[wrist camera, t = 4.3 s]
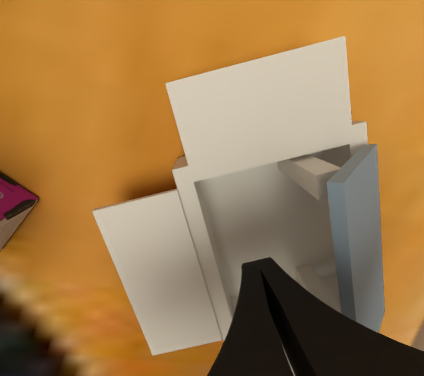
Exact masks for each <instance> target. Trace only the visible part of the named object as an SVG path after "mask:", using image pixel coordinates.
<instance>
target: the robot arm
mask: <svg viewBox="0 0 424 376" xmlns="http://www.w3.org/2000/svg"><path fill="white" fill-rule="evenodd" d="M241 269H242V275H241V285H240V290H239V296H238V301H237V304H236V308H235V312H234V316H233V319H232V322H231V325H230V328H229V330H228V333H227V336H226V338H225V340H224V343H223V345H222V347H221V350H220V352H219V354H218V356H217V358H216V360H215V362H214V364H213V366H212V368H211V369H210V371H209V373H208V375H207V376H294V375H295V376H424V351H421V350H418V349H416V348H413V347H410V346H408V345H405V344H403V343H400V342H398V341H395V340H393V339H391V338H389V337H386V336H384V335H382V334H380V333H377V332H375V331H373V330H371V329H369V328H367V327H365V326H363V325H362V324H360V323H358V322H356V321H354V320H352V319H350V318H348V317H346V316H345V315H343V314H341V313H340V312H338V311H336V310H335V309H333V308H332V307H330V306H328V305H327V304H325V303H324V302H322V301H321V300H320V299H318V298H317V297H315V296H314V295H313V294H311V293H310V292H309V291H307V290H306V289H305V288H304V287H302V286H301V285H300V284H299V283H297V282H296V281H295V280H294V279H293V278H292V277H290V276H289V275H288V274H287V273H286V272H285V271H284V270H283V269H282V268H281V267H280V266H279V265H278V264H277V263H276V262H275V261H274V260H273V259H272V258H271V257H268V258H264V259H259V260H255V261H251V262H246V263H243V264H242V266H241ZM283 348H284V349H283ZM285 353H286V354H285ZM286 355H287V356H286ZM287 358H288V359H287ZM288 360H289V362H288ZM289 363H290V364H289ZM290 365H291V367H292V369H291V367H290ZM292 370H293V372H294V374H293V372H292Z"/></svg>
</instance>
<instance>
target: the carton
mask: <svg viewBox="0 0 424 376" xmlns="http://www.w3.org/2000/svg"><path fill="white" fill-rule="evenodd" d="M165 84H166V88H167V91H168V95H169V99H170V102H171V106H172V109H173V113H174V116H175V120H176V124H177V127H178V131H179V134H180V138H181V142H182V145H183V149H184V152H185V156H182V157H178V159H177V161H176V163H175V165H174V167H173V169H172V172H173V175H174V179H175V182H176V185H177V189H173V190H169V191H165V192H161V193H157V194H153V195H149V196H145V197H141V198H137V199H133V200H128V201H124V202H120V203H116V204H112V205H108V206H104V207H100V208H96V209H94V210H93V211H92V212H93V215H94V217H95V220H96V222H97V224H98V227H99V229H100V231H101V234H102V236H103V239H104V241H105V243H106V246H107V248H108V250H109V253H110V255H111V258H112V260H113V262H114V265H115V267H116V269H117V272H118V274H119V277H120V279H121V281H122V284H123V286H124V288H125V291H126V293H127V296H128V298H129V300H130V303H131V305H132V307H133V310H134V312H135V315H136V317H137V319H138V322H139V324H140V326H141V329H142V331H143V334H144V336H145V338H146V341H147V343H148V345H149V348H150V350H151V353H152V355H157V354H162V353H167V352H171V351H176V350H180V349H185V348H189V347H194V346H198V345H203V344H208V343H212V342H217V341H221V340H222V338H223V341H224V340H225V338H226V336H227V333H228V330H229V328H230V325H231V322H232V319H233V316H234V312H235V308H236V304H237V301H238V296H239V290H240V285H241V275H242V269H241V266H242V264H243V263H246V262H251V261H255V260H259V259H264V258H268V257H271V258H272V259H273V260H274V261H275V262H276V263H277V264H278V265H279V266H280V267H281V268H282V269H283V270H284V271H285V272H286V273H287V274H288V275H289V276H290V277H292V278H293V279H294V280H295V281H296V282H297V283H299V284H300V285H301V286H302V287H304V288H305V289H306V290H307V291H309V292H310V293H311V294H313V295H314V296H315V297H317V298H318V299H320V300H321V301H322V302H324V303H325V304H327V305H328V306H330V307H332V308H333V309H335V310H336V311H338V312H340V313H341V307H340V298H339V289H338V280H337V271H336V263H335V254H334V245H333V236H332V227H331V218H330V209H329V200H328V191H327V183H326V182H327V181H328V180H329V179H330V178H331V177H332V176H333V175H334V174H335V173H336V172H337V171H338V170H339V169H340V168H341V167H342V166H343V165H344V164H345V163H346V162H347V161H348V160H349V159H350V158H351V157H352V156H353V155H354V154H355V153H356V152H357V151H358V150H359V149H360V148H361V147H362V146H363V145H368V142H367V124H366V121H352V120H351V106H350V93H349V80H348V66H347V53H346V40H345V36H343V37H339V38H335V39H331V40H328V41H324V42H320V43H316V44H312V45H309V46H305V47H301V48H297V49H293V50H290V51H286V52H282V53H278V54H274V55H271V56H267V57H263V58H259V59H255V60H252V61H248V62H244V63H240V64H236V65H233V66H229V67H225V68H221V69H218V70H214V71H210V72H206V73H202V74H199V75H195V76H191V77H187V78H183V79H180V80H176V81H172V82H168V83H165ZM283 349H284V348H283ZM285 354H286V353H285ZM286 356H287V355H286ZM287 359H288V358H287ZM288 362H289V360H288ZM289 364H290V363H289ZM290 367H291V365H290ZM291 369H292V367H291ZM292 372H293V370H292ZM293 374H294V372H293ZM294 376H295V375H294Z"/></svg>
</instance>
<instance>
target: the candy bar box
mask: <svg viewBox="0 0 424 376" xmlns="http://www.w3.org/2000/svg"><path fill="white" fill-rule="evenodd" d="M37 201H38V198H37V197H36V196H35V195H34V194H32V193H31V192H29V191H28V190H26V189H25V188H23V187H22V186H20V185H19V184H17V183H16V182H14V181H12V180H11V179H9V178H8V177H6V176H5V175H3V174H2V173H0V251H1V250H2V249H3V247H4V246H5V245H6V243H7V242H8V241H9V240H10V238H11V237H12V235H13V233H14V231H15V230H16V229H17V227H18V226H19V225H20V224H21V222H22V221H23V220H24V218H25V217H26V216H27V214H28V213H29V212H30V210H31V209H32V208H33V207H34V205H35V204H36V203H37Z"/></svg>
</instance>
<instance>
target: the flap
mask: <svg viewBox="0 0 424 376" xmlns="http://www.w3.org/2000/svg"><path fill="white" fill-rule="evenodd" d="M326 183H327V191H328V200H329V209H330V218H331V227H332V236H333V245H334V254H335V263H336V271H337V280H338V289H339V298H340V307H341V314H343V315H345V316H346V317H348V318H350V319H352V320H354V321H356V322H358V323H360V324H362V325H363V326H365V327H367V328H369V329H371V330H373V331H375V332H377V333H379V329H380V326H381V323H382V319H383V316H384V312H385V306H384V285H383V263H382V242H381V221H380V200H379V178H378V157H377V144H369V145H363V146H362V147H361V148H360V149H359V150H358V151H357V152H356V153H355V154H354V155H353V156H352V157H351V158H350V159H349V160H348V161H347V162H346V163H345V164H344V165H343V166H342V167H341V168H340V169H339V170H338V171H337V172H336V173H335V174H334V175H333V176H332V177H331V178H330V179H329V180H328V181H327V182H326Z"/></svg>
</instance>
